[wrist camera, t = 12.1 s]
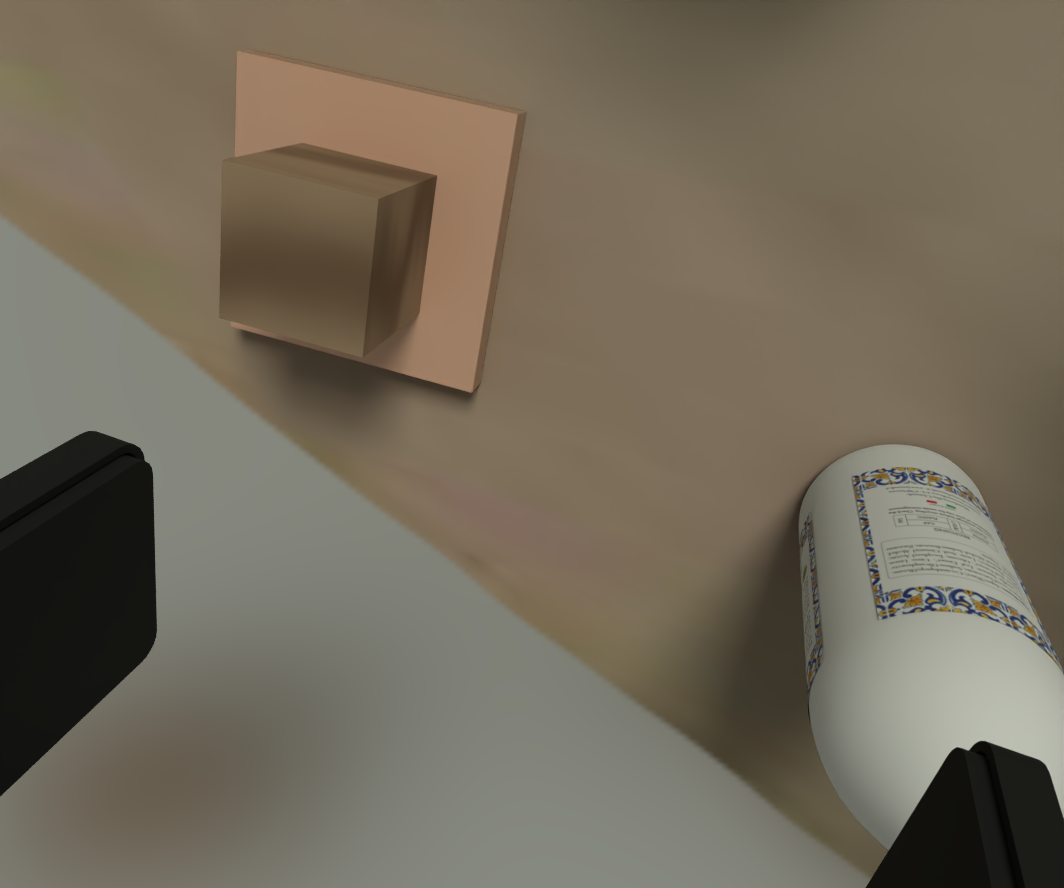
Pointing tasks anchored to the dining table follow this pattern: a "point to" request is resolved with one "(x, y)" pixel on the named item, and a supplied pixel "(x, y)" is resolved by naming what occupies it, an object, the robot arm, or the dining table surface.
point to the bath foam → (916, 633)
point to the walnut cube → (323, 245)
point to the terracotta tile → (415, 143)
